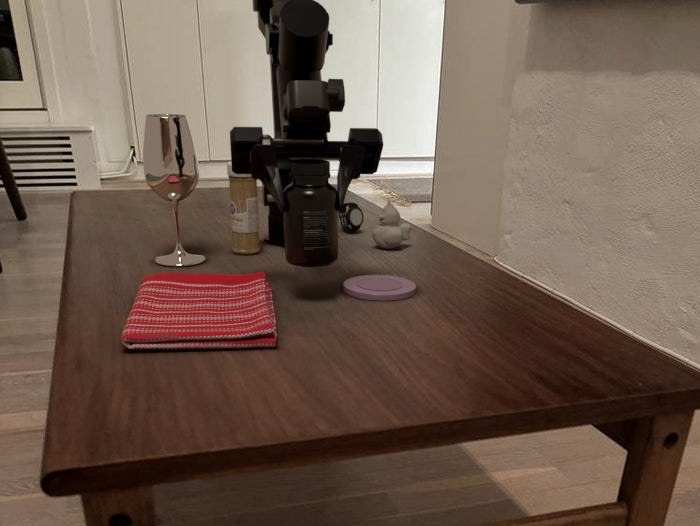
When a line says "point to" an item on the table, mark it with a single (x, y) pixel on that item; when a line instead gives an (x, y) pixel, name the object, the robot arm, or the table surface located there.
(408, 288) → the saucer
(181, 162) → the wineglass
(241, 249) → the sprinkles bottle
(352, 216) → the smartwatch
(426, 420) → the table surface
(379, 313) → the table surface
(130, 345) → the dish towel
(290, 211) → the supplement bottle
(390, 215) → the rubber duck
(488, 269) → the table surface
